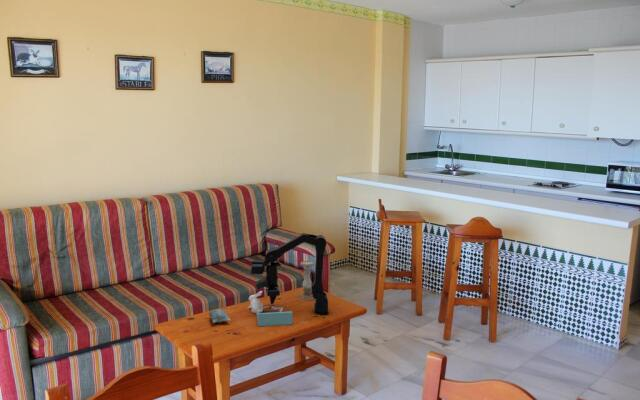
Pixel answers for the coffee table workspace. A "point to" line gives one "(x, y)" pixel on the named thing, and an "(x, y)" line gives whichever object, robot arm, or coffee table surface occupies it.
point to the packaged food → (218, 316)
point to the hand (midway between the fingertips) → (272, 304)
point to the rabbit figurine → (256, 303)
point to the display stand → (274, 318)
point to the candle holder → (307, 281)
